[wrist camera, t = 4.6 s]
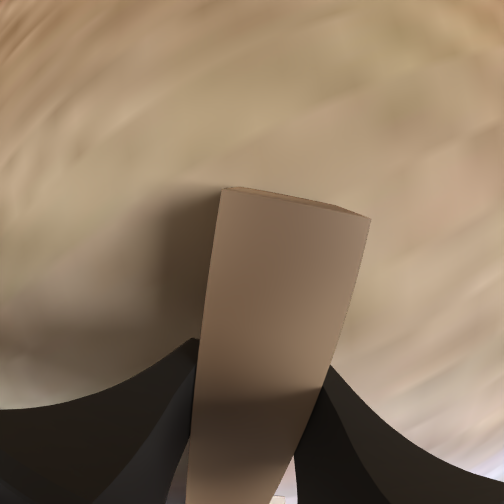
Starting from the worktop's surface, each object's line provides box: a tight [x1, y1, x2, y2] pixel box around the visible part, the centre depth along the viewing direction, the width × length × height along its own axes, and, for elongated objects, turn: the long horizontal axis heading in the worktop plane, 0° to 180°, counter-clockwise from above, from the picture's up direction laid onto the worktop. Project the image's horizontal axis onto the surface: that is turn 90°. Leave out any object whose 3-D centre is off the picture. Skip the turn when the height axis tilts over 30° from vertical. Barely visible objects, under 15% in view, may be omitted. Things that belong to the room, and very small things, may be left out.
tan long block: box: [185, 187, 371, 504], centre depth 9 cm, size 3×16×4 cm, turn 170°
